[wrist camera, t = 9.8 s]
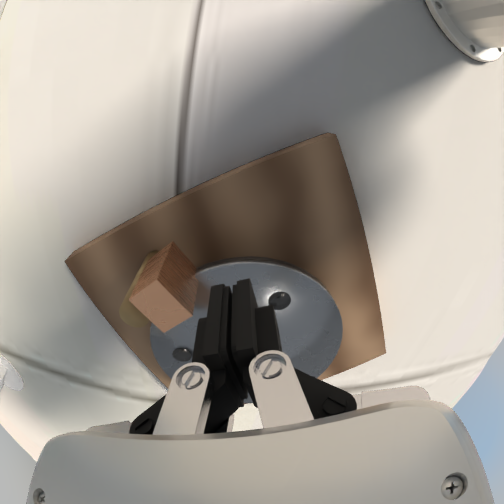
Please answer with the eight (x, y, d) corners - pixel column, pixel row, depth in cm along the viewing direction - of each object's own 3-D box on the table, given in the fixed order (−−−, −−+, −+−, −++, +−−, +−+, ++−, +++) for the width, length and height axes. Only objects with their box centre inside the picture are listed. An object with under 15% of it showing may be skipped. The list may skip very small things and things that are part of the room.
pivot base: (327, 132, 21) (380, 145, 13) (379, 342, 32) (409, 397, 24) (73, 251, 24) (25, 306, 16) (197, 403, 35) (193, 460, 27)
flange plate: (363, 345, 25) (381, 384, 21) (229, 410, 29) (230, 447, 24) (254, 182, 18) (262, 205, 14) (95, 302, 21) (72, 342, 17)
